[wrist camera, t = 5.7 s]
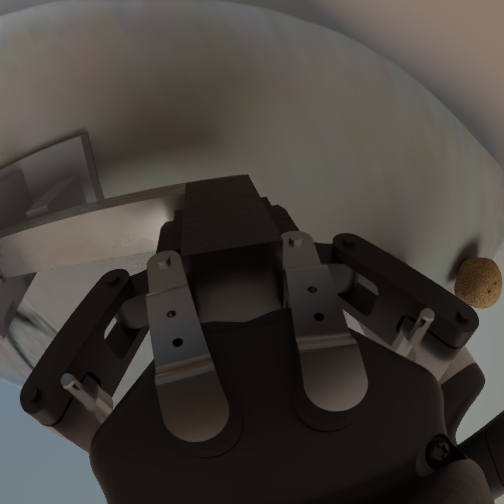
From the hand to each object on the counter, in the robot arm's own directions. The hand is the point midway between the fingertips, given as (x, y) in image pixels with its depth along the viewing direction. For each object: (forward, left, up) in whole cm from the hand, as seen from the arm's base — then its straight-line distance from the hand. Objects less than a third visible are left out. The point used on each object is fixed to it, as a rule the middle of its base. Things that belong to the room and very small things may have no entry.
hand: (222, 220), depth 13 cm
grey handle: (+7, 0, -2) cm, 8 cm away
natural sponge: (-40, +19, -10) cm, 46 cm away
